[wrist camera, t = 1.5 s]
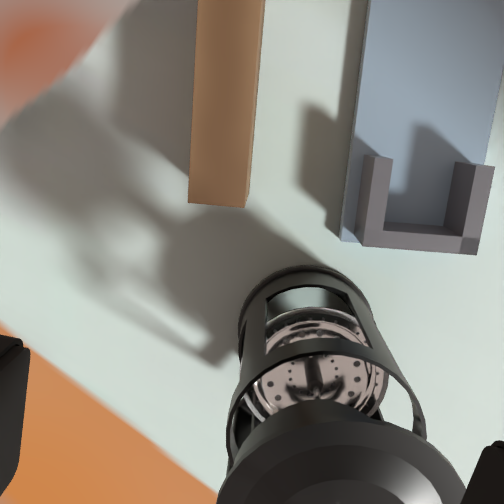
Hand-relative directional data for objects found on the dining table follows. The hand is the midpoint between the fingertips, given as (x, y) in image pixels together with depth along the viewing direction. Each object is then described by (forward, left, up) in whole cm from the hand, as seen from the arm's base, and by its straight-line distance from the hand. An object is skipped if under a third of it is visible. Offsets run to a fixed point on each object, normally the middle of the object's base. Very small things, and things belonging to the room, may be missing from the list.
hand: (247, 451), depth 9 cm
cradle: (-9, -10, -22) cm, 26 cm away
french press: (-3, +7, -22) cm, 24 cm away
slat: (+2, -10, -22) cm, 25 cm away
